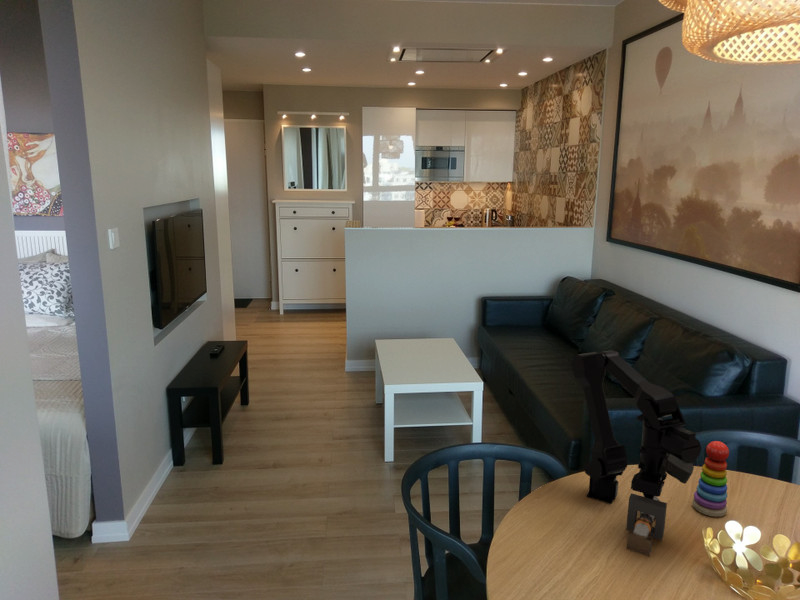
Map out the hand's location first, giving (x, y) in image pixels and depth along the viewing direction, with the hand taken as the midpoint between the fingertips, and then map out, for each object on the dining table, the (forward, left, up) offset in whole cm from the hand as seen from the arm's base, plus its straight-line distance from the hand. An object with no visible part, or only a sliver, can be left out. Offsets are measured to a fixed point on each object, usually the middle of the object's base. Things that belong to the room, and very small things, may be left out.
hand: (649, 502), depth 137 cm
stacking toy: (+12, +17, -7) cm, 22 cm away
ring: (0, -3, -7) cm, 7 cm away
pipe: (0, -2, -7) cm, 7 cm away
